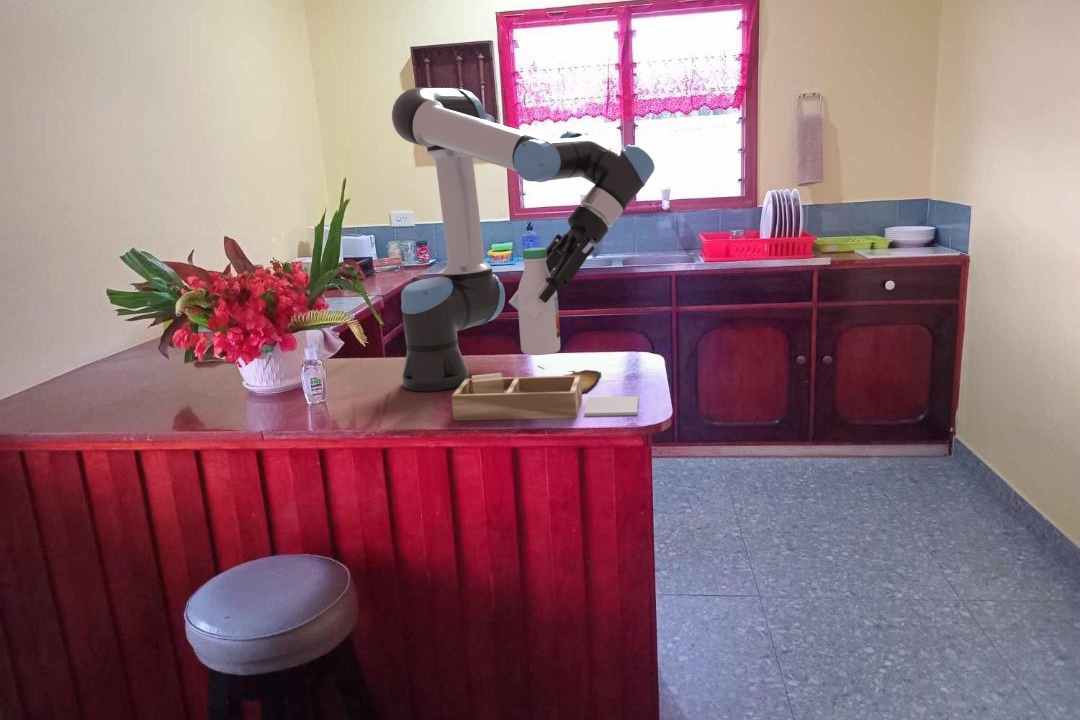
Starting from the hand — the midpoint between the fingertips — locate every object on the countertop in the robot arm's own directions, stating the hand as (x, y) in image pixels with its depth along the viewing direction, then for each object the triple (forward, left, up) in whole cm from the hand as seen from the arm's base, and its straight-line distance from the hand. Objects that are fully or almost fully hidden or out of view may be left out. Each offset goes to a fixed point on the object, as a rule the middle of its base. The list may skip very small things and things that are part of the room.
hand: (521, 309), depth 150 cm
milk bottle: (-2, +3, -9) cm, 10 cm away
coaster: (-2, +16, -20) cm, 26 cm away
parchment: (-17, +7, -21) cm, 28 cm away
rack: (-2, -2, -20) cm, 21 cm away
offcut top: (-2, -8, -17) cm, 20 cm away
